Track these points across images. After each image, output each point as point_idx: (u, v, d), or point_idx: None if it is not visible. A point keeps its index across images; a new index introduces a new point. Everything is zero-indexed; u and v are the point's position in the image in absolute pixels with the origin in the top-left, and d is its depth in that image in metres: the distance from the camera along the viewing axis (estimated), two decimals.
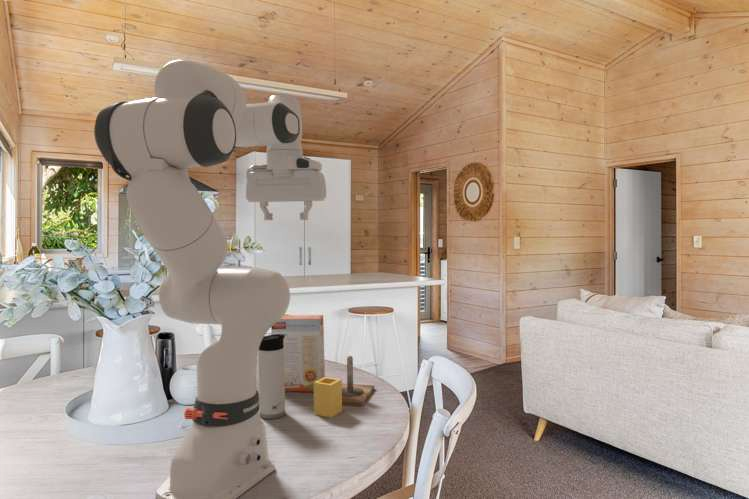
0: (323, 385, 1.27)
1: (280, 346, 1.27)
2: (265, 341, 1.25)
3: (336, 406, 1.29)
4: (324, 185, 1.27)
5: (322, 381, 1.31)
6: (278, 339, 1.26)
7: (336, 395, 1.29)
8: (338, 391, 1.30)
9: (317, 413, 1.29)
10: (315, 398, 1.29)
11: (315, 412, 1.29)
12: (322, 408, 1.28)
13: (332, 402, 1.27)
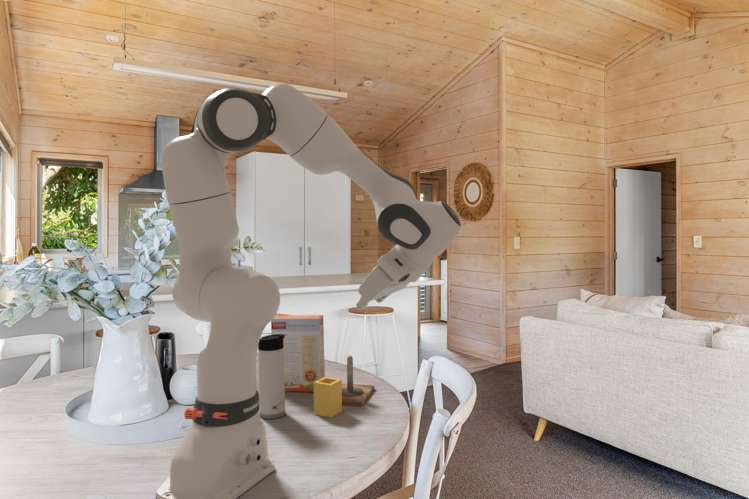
0: (323, 385, 1.27)
1: (280, 346, 1.27)
2: (265, 341, 1.25)
3: (336, 406, 1.29)
4: (373, 287, 1.11)
5: (322, 381, 1.31)
6: (278, 339, 1.26)
7: (336, 395, 1.29)
8: (338, 391, 1.30)
9: (317, 413, 1.29)
10: (315, 398, 1.29)
11: (315, 412, 1.29)
12: (322, 408, 1.28)
13: (332, 402, 1.27)
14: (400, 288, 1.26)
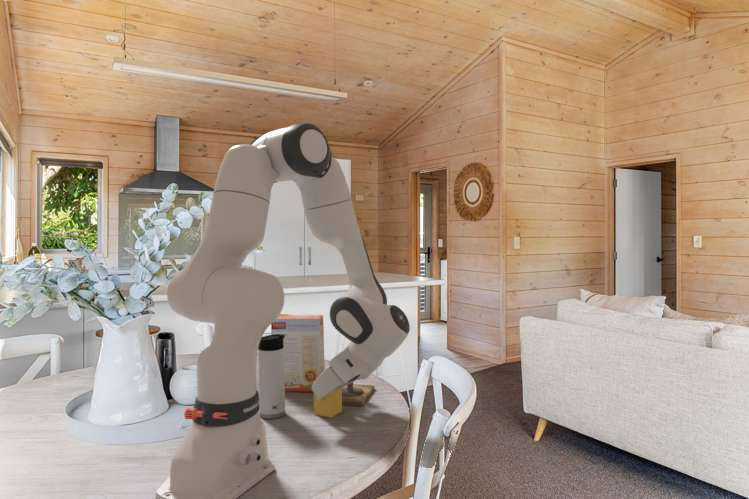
0: None
1: (280, 346, 1.27)
2: (265, 341, 1.25)
3: (336, 406, 1.29)
4: (324, 387, 1.18)
5: None
6: (278, 339, 1.26)
7: (336, 395, 1.29)
8: (338, 391, 1.30)
9: (317, 413, 1.29)
10: (315, 398, 1.29)
11: (315, 412, 1.29)
12: (322, 408, 1.28)
13: (332, 402, 1.27)
14: None
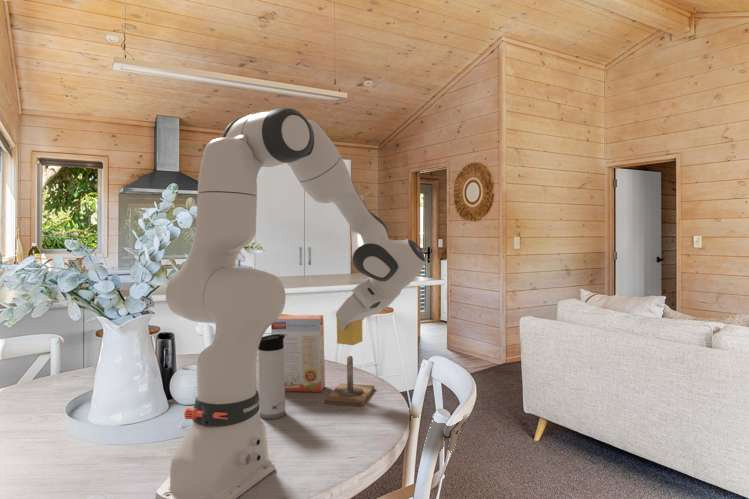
0: None
1: (280, 346, 1.27)
2: (265, 341, 1.25)
3: (357, 336, 1.40)
4: (348, 313, 1.30)
5: None
6: (278, 339, 1.26)
7: (357, 325, 1.40)
8: (359, 322, 1.41)
9: (340, 342, 1.40)
10: (338, 328, 1.40)
11: (338, 341, 1.40)
12: (344, 337, 1.39)
13: (354, 331, 1.38)
14: (376, 312, 1.44)
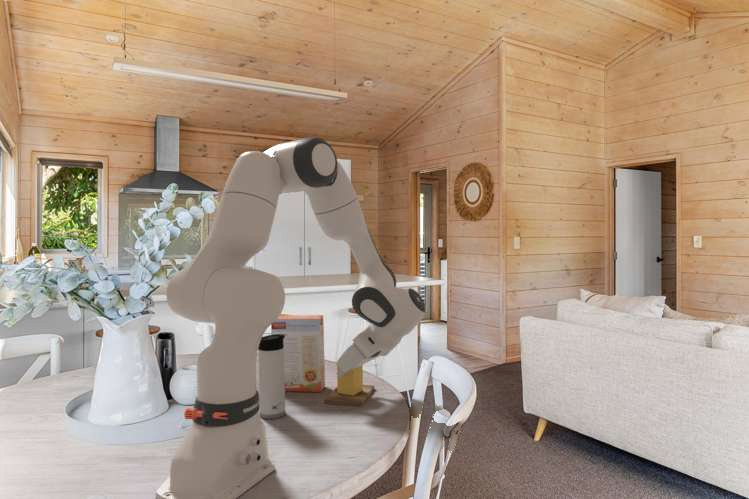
0: None
1: (280, 346, 1.27)
2: (265, 341, 1.25)
3: (358, 385, 1.41)
4: (348, 362, 1.30)
5: None
6: (278, 339, 1.26)
7: (358, 375, 1.41)
8: (359, 371, 1.42)
9: (340, 391, 1.41)
10: (338, 378, 1.41)
11: (338, 391, 1.41)
12: (345, 387, 1.40)
13: (354, 381, 1.39)
14: (376, 357, 1.45)
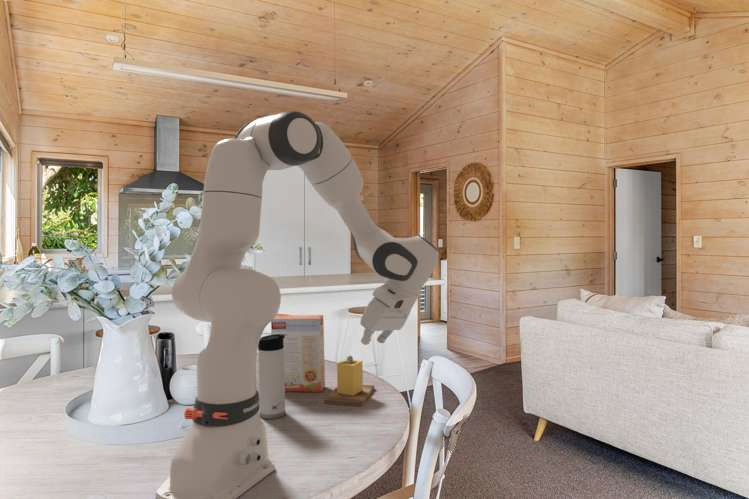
0: (346, 366, 1.39)
1: (280, 346, 1.27)
2: (265, 341, 1.25)
3: (358, 385, 1.41)
4: (373, 316, 1.25)
5: (344, 362, 1.43)
6: (278, 339, 1.26)
7: (358, 375, 1.41)
8: (359, 371, 1.42)
9: (340, 391, 1.41)
10: (338, 378, 1.41)
11: (338, 391, 1.41)
12: (345, 387, 1.40)
13: (354, 381, 1.39)
14: (398, 326, 1.39)
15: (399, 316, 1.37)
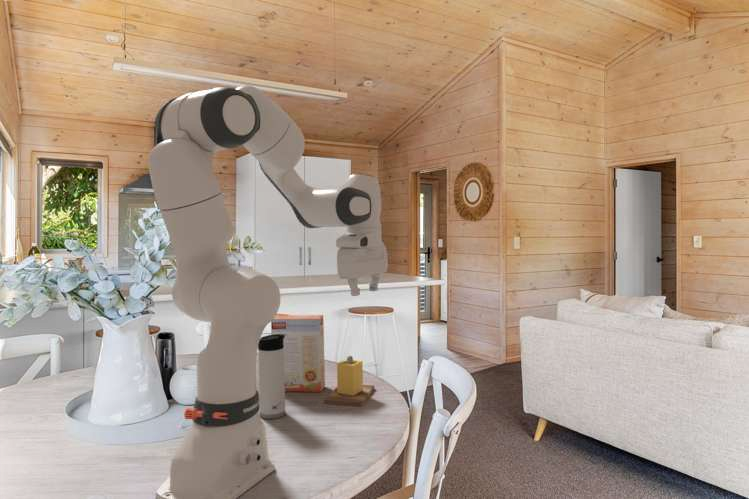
0: (346, 366, 1.39)
1: (280, 346, 1.27)
2: (265, 341, 1.25)
3: (358, 385, 1.41)
4: (346, 264, 1.24)
5: (344, 362, 1.43)
6: (278, 339, 1.26)
7: (358, 375, 1.41)
8: (359, 371, 1.42)
9: (340, 391, 1.41)
10: (338, 378, 1.41)
11: (338, 391, 1.41)
12: (345, 387, 1.40)
13: (354, 381, 1.39)
14: (382, 267, 1.38)
15: (376, 257, 1.36)
